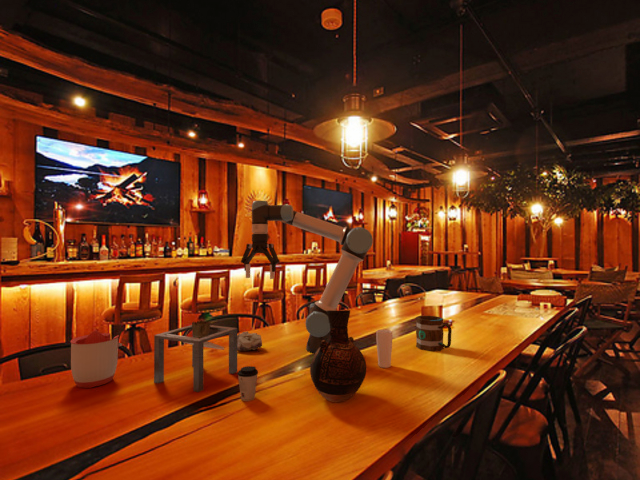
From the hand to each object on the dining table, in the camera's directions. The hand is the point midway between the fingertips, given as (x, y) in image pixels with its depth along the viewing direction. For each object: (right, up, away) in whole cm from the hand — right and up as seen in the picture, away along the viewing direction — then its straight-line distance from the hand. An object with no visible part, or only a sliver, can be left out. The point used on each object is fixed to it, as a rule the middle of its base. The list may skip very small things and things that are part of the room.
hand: (259, 278), depth 165 cm
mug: (+86, -37, +10) cm, 94 cm away
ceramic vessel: (+35, -36, -46) cm, 68 cm away
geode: (-9, -37, +12) cm, 40 cm away
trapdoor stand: (-20, -36, -27) cm, 49 cm away
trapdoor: (-21, -23, -28) cm, 41 cm away
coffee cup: (+4, -36, -46) cm, 59 cm away
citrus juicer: (-57, -37, -31) cm, 75 cm away
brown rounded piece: (-21, -24, -21) cm, 38 cm away
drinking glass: (+56, -36, -15) cm, 69 cm away
